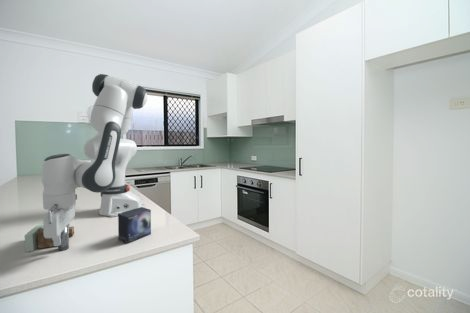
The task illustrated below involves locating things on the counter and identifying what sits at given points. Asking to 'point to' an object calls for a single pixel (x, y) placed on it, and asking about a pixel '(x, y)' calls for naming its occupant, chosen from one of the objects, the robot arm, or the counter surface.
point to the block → (49, 242)
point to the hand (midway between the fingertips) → (61, 239)
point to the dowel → (64, 240)
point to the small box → (134, 224)
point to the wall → (33, 238)
